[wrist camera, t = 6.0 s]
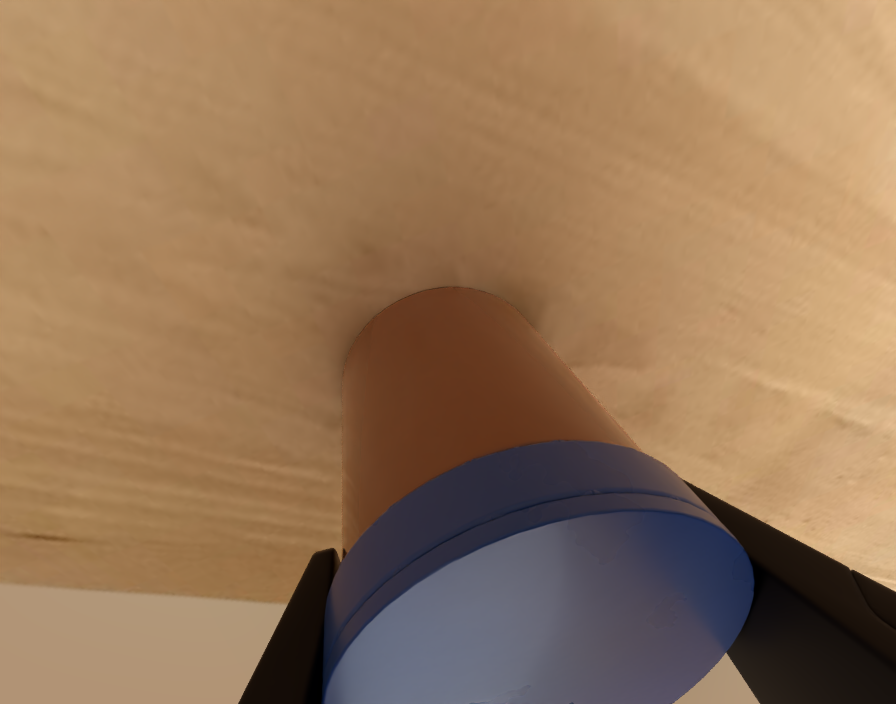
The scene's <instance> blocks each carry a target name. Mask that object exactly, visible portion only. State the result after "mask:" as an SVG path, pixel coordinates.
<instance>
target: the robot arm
mask: <svg viewBox="0 0 896 704" xmlns="http://www.w3.org/2000/svg"><path fill="white" fill-rule="evenodd" d="M682 480H683V479H682ZM683 481H684V482H685V484H686V485H687V486H688V487H689V488H690V489H691V490H692V491H693V492H694V493H695V494H696V495H697V497H698V498H699V499H700V500H701V501H702V502H703V503H704V504H705V505H706V506H707V507H708V508H709V510H710V511H711V512H712V513H713V514H714V515H715V516H716V517H717V518H718V520H719V521H720V522H721V523H722V524H723V525H724V526H725V527H726V528H727V529H728V530H729V531H730V532H731V533H732V534H733V535H734V537H735V538H736V539H737V540H738V541H739V543H740V544H741V545H742V547H743V548H744V549H745V550H746V553H747V555H748V557H749V560H750V562H751V564H752V567H753V574H754V581H755V584H754V596H753V601H752V604H751V608H750V611H749V614H748V616H747V619H746V621H745V623H744V625H743V627H742V629H741V631H740V633H739V634H738V636H737V637H736V639H735V641H734V642H733V644H732V645H731V647H730V648H729V649H728V650H727V652H726V653H727V654H728V656H729V657H730V659H731V660H732V662H733V663H734V665H735V666H736V668H737V669H738V671H739V672H740V674H741V675H742V677H743V678H744V680H745V682H746V683H747V684H748V686H749V688H750V689H751V691H752V692H753V694H754V695H755V697H756V698H757V700H758V701H759V703H760V704H896V592H895V591H893V590H891V589H889V588H887V587H885V586H883V585H881V584H880V583H878V582H876V581H874V580H872V579H870V578H868V577H866V576H864V575H862V574H861V573H859V572H857V571H855V570H851V571H850V569H849V568H848V567H847V566H845V565H843V564H841V563H840V562H838V561H836V560H834V559H832V558H830V557H828V556H826V555H824V554H823V553H821V552H819V551H817V550H815V549H813V548H811V547H809V546H807V545H806V544H804V543H802V542H800V541H798V540H796V539H794V538H792V537H790V536H789V535H787V534H785V533H783V532H781V531H779V530H777V529H775V528H773V527H772V526H770V525H768V524H766V523H764V522H762V521H760V520H758V519H756V518H755V517H753V516H751V515H749V514H747V513H745V512H743V511H741V510H740V509H738V508H736V507H734V506H732V505H730V504H728V503H726V502H724V501H723V500H721V499H719V498H717V497H715V496H713V495H711V494H709V493H707V492H706V491H704V490H702V489H700V488H698V487H696V486H694V485H692V484H690V483H689V482H687V481H685V480H683ZM340 564H341V562H340V559H339V557H338V554H337V551H336V550H335V549H334V548H330V549H326V550H322V551H318V552H316V553H314V554H313V556H312V558H311V560H310V562H309V564H308V566H307V568H306V570H305V572H304V574H303V576H302V578H301V580H300V582H299V583H298V585H297V587H296V589H295V591H294V593H293V595H292V597H291V599H290V601H289V603H288V605H287V607H286V609H285V611H284V613H283V615H282V618H281V620H280V622H279V624H278V625H277V627H276V629H275V631H274V634H273V635H272V637H271V640H270V641H269V643H268V645H267V648H266V649H265V652H264V654H263V655H262V657H261V659H260V661H259V663H258V665H257V667H256V669H255V671H254V673H253V675H252V677H251V679H250V681H249V683H248V685H247V687H246V689H245V691H244V693H243V695H242V697H241V699H240V701H239V703H238V704H321V702H322V684H323V677H322V674H323V646H324V618H325V609H326V602H327V596H328V593H329V590H330V588H331V585H332V582H333V579H334V577H335V575H336V573H337V571H338V569H339V566H340Z"/></svg>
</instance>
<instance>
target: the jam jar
mask: <svg viewBox="0 0 896 704" xmlns="http://www.w3.org/2000/svg"><path fill="white" fill-rule="evenodd" d="M554 440H580V441H599V442H605V443H610V444H616V445H621V446H625V447H630V448H633V449H635V450H637V451H639V452H642V453H644V452H643V451H642V450H641V449H640V448H639V447H638V446H637V444H636V443H635V442H634V441H633V440H632V439H631V438H630V436H629V435H628V434H627V433H626V432H625V431H624V430H623V429H622V427H621V426H620V425H619V424H618V423H617V422H616V421H615V419H614V418H613V417H612V416H611V415H610V414H609V413H608V412H607V410H606V409H605V408H604V407H603V406H602V405H601V404H600V402H599V401H598V400H597V399H596V398H595V397H594V396H593V395H592V393H591V392H590V391H589V390H588V389H587V388H586V387H585V385H584V384H583V383H582V382H581V381H580V380H579V379H578V378H577V376H576V375H575V374H574V373H573V372H572V371H571V370H570V368H569V367H568V366H567V365H566V364H565V363H564V362H563V361H562V359H561V358H560V357H559V356H558V355H557V354H556V353H555V352H554V350H553V349H552V348H551V347H550V346H549V345H548V344H547V342H546V341H545V340H544V339H543V338H542V337H541V336H540V335H539V333H538V332H537V331H536V330H535V329H534V328H533V327H532V325H531V324H530V323H529V322H528V321H527V320H526V319H525V318H524V317H523V316H522V314H521V313H520V312H519V311H518V310H517V309H515V308H514V307H513V306H511V305H510V304H509V303H508V302H506V301H504V300H502V299H500V298H499V297H497V296H495V295H492V294H489V293H487V292H484V291H480V290H475V289H471V288H460V287H447V288H437V289H431V290H426V291H423V292H419V293H416V294H413V295H411V296H408V297H406V298H404V299H401V300H399V301H398V302H396V303H394V304H392V305H391V306H389V307H387V308H386V309H385V310H383V311H382V312H381V313H380V314H378V315H377V316H376V317H375V318H374V319H373V320H372V321H371V322H370V323H369V324H368V325H367V326H366V327H365V328H364V329H363V331H362V332H361V333H360V334H359V336H358V337H357V339H356V340H355V342H354V344H353V346H352V347H351V349H350V352H349V354H348V357H347V359H346V362H345V367H344V371H343V380H342V560H343V559H344V558H345V556H346V555H347V553H348V552H349V551H350V549H351V548H352V547H353V545H354V544H355V543H356V541H357V540H358V539H359V537H360V536H361V535H362V534H363V533H364V532H365V531H366V530H367V529H368V528H369V527H370V526H371V525H372V524H373V523H374V522H375V521H376V520H377V519H378V517H379V516H380V515H382V514H383V513H384V512H385V511H386V510H387V509H388V508H389V507H390V506H392V505H393V504H394V503H395V502H397V501H399V500H400V499H402V498H403V497H404V496H406V495H407V494H409V493H411V492H412V491H414V490H415V489H417V488H418V487H420V486H421V485H423V484H425V483H426V482H428V481H429V480H431V479H433V478H435V477H437V476H439V475H441V474H443V473H445V472H447V471H449V470H451V469H453V468H455V467H457V466H460V465H462V464H464V463H465V462H467V461H471V460H472V459H475V458H480V457H483V456H485V455H489V454H492V453H496V452H500V451H503V450H507V449H510V448H514V447H519V446H524V445H530V444H536V443H541V442H549V441H554Z"/></svg>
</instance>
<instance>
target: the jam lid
mask: <svg viewBox="0 0 896 704" xmlns="http://www.w3.org/2000/svg"><path fill="white" fill-rule="evenodd" d="M754 584H755V581H754V574H753V567H752V564H751V562H750V560H749V557H748V555H747V553H746V550H745V549H744V548H743V547H742V545H741V544H740V543H739V541H738V540H737V539H736V538H735V537H734V535H733V534H732V533H731V532H730V531H729V530H728V529H727V528H726V527H725V526H724V525H723V524H722V523H721V522H720V521H719V520H718V518H717V517H716V516H715V515H714V514H713V513H712V512H711V511H710V510H709V508H708V507H707V506H706V505H705V504H704V503H703V502H702V501H701V500H700V499H699V498H698V497H697V495H696V494H695V493H694V492H693V491H692V490H691V489H690V488H689V487H688V486H687V485H686V484H685V482H684V481H683V480H682V479H681V478H680V477H679V476H678V475H677V474H676V473H675V472H673V471H672V470H671V469H670V468H668V467H667V466H666V465H665V464H664V463H662V462H660V461H658V460H656V459H654V458H653V457H651V456H649V455H647V454H645V453H642V452H639V451H637V450H635V449H633V448H630V447H625V446H621V445H616V444H610V443H605V442H599V441H580V440H554V441H549V442H541V443H536V444H530V445H524V446H519V447H514V448H510V449H507V450H503V451H500V452H496V453H492V454H489V455H485V456H483V457H480V458H475V459H472V460H471V461H467V462H465V463H464V464H462V465H460V466H457V467H455V468H453V469H451V470H449V471H447V472H445V473H443V474H441V475H439V476H437V477H435V478H433V479H431V480H429V481H428V482H426V483H425V484H423V485H421V486H420V487H418V488H417V489H415V490H414V491H412V492H411V493H409V494H407V495H406V496H404V497H403V498H402V499H400V500H399V501H397V502H395V503H394V504H393V505H392V506H390V507H389V508H388V509H387V510H386V511H385V512H384V513H383V514H382V515H380V516H379V517H378V519H377V520H376V521H375V522H374V523H373V524H372V525H371V526H370V527H369V528H368V529H367V530H366V531H365V532H364V533H363V534H362V535H361V536H360V537H359V539H358V540H357V541H356V543H355V544H354V545H353V547H352V548H351V549H350V551H349V552H348V553H347V555H346V556H345V558H344V559H343V560H342V562H341V564H340V566H339V569H338V571H337V573H336V575H335V577H334V579H333V582H332V585H331V588H330V590H329V593H328V596H327V602H326V609H325V618H324V646H323V674H322V677H323V684H322V702H321V704H672V703H674V702H675V701H676V700H678V699H679V698H680V697H681V696H683V695H684V694H685V693H686V692H688V691H689V690H690V689H691V688H692V687H693V686H695V685H696V684H697V683H698V682H699V681H700V680H701V679H702V678H703V677H704V676H705V675H706V674H707V673H708V672H709V671H710V670H711V669H712V668H713V667H714V666H715V665H716V664H717V663H718V662H719V661H720V659H721V658H722V657H723V656H724V654H725V653H726V652H727V650H728V649H729V648H730V647H731V645H732V644H733V642H734V641H735V639H736V637H737V636H738V634H739V633H740V631H741V629H742V627H743V625H744V623H745V621H746V619H747V616H748V614H749V611H750V608H751V604H752V601H753V596H754Z"/></svg>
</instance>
